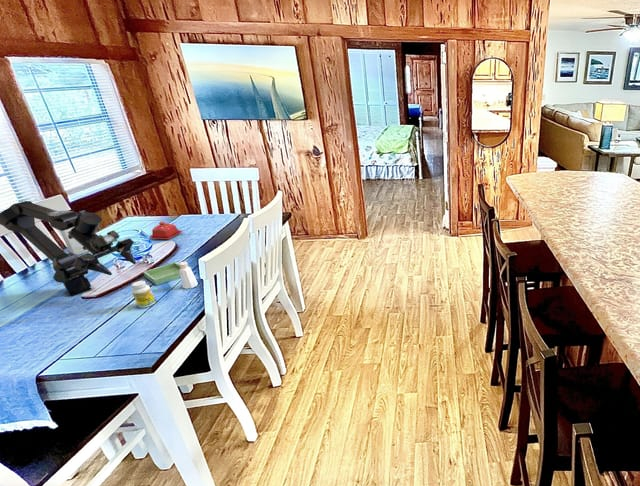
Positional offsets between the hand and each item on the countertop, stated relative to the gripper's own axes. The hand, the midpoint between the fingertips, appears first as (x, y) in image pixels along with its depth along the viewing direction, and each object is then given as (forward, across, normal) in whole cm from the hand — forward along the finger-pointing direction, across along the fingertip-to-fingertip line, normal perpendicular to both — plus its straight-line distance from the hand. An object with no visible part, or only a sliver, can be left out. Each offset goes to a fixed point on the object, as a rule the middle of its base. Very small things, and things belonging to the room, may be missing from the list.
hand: (123, 268), depth 149 cm
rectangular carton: (-36, +30, +58) cm, 75 cm away
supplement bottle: (+15, -2, +4) cm, 16 cm away
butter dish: (-21, +54, +41) cm, 71 cm away
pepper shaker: (+18, +13, +1) cm, 23 cm away
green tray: (+6, +18, +13) cm, 23 cm away
